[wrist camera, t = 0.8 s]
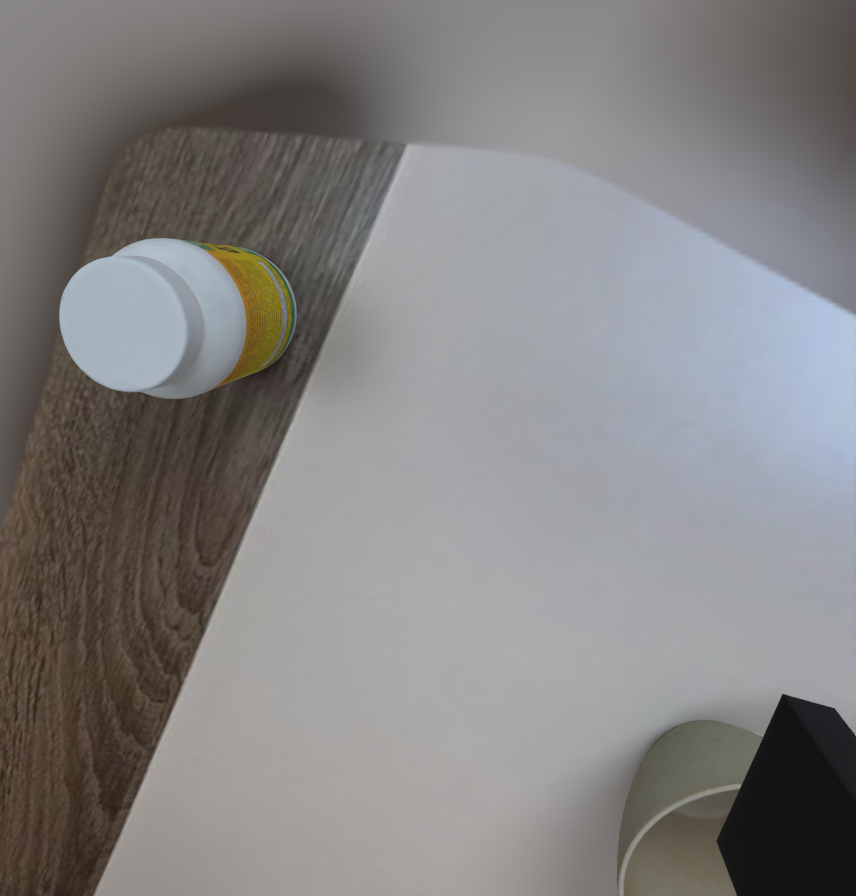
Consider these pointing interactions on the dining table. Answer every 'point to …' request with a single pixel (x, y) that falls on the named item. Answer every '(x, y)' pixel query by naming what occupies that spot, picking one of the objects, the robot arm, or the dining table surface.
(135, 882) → the dining table surface
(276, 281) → the supplement bottle
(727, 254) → the dining table surface
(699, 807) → the bowl
